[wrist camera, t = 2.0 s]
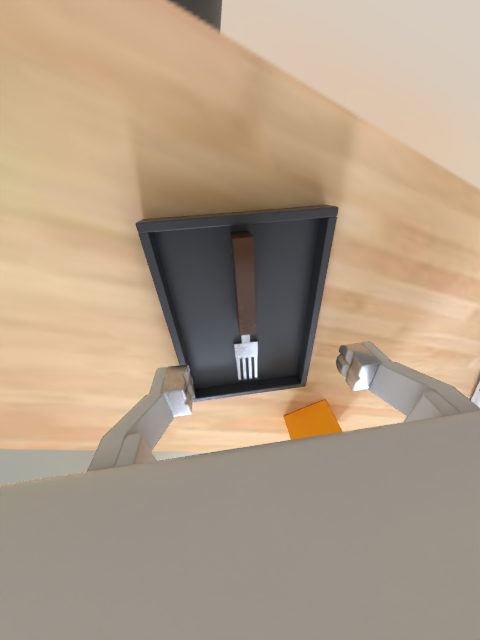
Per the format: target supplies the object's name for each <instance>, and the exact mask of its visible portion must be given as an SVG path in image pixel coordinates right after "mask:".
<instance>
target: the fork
mask: <svg viewBox="0 0 480 640" xmlns="http://www.w3.org/2000/svg"><path fill="white" fill-rule="evenodd" d="M230 239H231V251H232V264H233V276H234V289H235V301H236V314H237V323H238V328H239V333H240V336H241V342H234V351H235V359H236V365H237V375H238V381H241V369H240V359H242V368H243V380H247V374H246V358H248V374H249V380H250V379H252V358H251V357H253V359H254V379H257V378H258V367H257V357H258V341H257V340H250V335H251V334H256V303H255V250H254V236H253V235H252V234H251V233H250V232H249V231H237V232H230Z"/></svg>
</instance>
